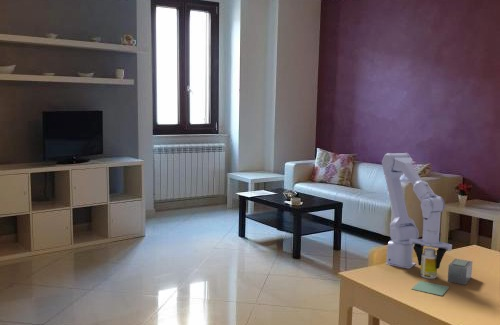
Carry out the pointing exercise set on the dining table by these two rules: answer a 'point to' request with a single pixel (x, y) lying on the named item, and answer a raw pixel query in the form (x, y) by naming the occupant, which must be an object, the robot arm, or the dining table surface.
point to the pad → (430, 288)
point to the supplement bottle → (428, 263)
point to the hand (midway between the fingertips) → (428, 266)
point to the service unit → (460, 271)
